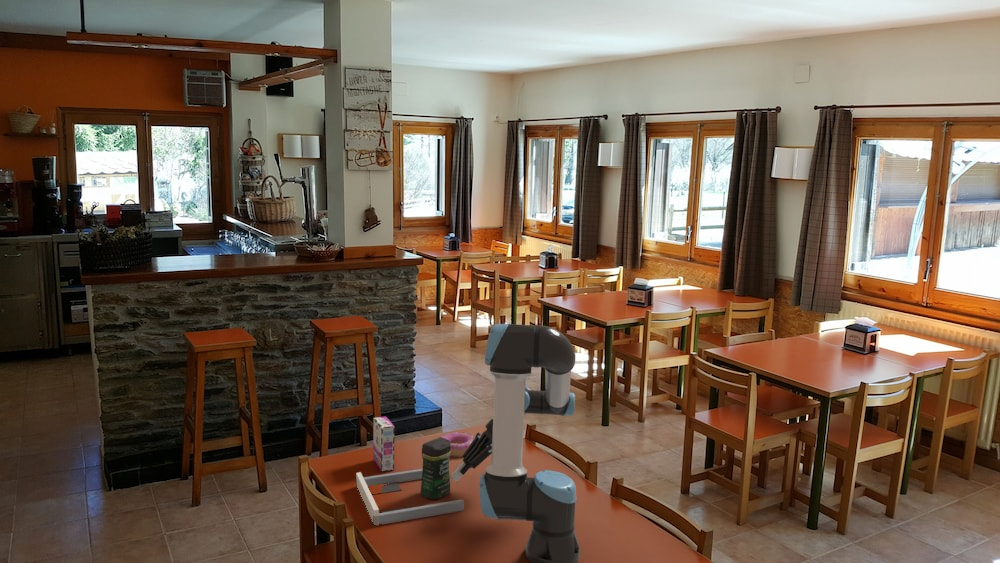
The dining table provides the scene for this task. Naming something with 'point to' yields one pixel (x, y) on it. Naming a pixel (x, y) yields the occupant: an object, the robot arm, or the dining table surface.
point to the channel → (403, 513)
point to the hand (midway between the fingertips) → (453, 479)
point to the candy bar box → (383, 443)
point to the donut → (458, 443)
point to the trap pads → (391, 488)
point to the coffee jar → (436, 468)
